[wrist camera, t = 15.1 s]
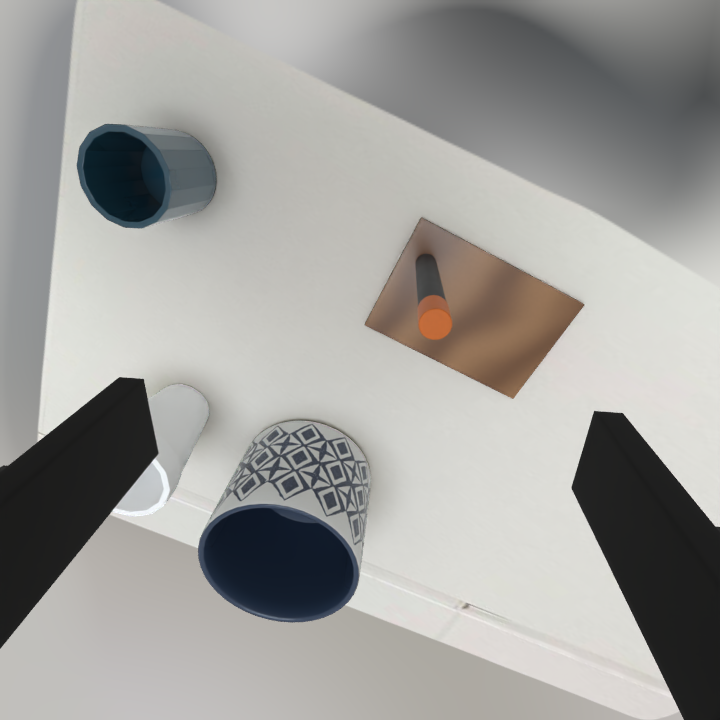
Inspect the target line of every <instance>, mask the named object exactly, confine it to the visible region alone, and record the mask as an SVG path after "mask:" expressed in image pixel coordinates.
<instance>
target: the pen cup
mask: <svg viewBox="0 0 720 720" xmlns="http://www.w3.org/2000/svg"><path fill="white" fill-rule="evenodd" d="M77 170H78V174H79V179H80V184H81V186H82V189H83V191H84V193H85V194H86V196H87V198H88V200H89V201H90V203H91V205H92V206H93V207H94V208H95V209H96V210H97V211H98V212H99V213H101V214H102V215H103V216H104V217H105V218H106V219H107V220H109V221H111V222H114V223H116V224H118V225H120V226H122V227H125V228H145V227H149V226H152V225H156V224H160V223H163V222H167V221H170V220H174V219H177V218H181V217H185V216H188V215H190V214H193V213H196V212H198V211H200V210H202V209H203V208H205V207H206V206H207V205H208V203H209V202H210V201H211V199H212V197H213V195H214V192H215V188H216V172H215V167H214V164H213V161H212V159H211V157H210V155H209V153H208V152H207V150H206V149H205V147H204V146H203V145H202V144H201V143H200V142H199V141H198V140H197V139H195V138H194V137H192V136H191V135H189V134H187V133H184V132H181V131H178V130H172V129H163V128H153V127H143V126H133V125H122V124H105V125H103V126H101V127H99V128H97V129H95V130H93V131H91V132H89V134H88V135H87V137H86V138H85V140H84V141H83V143H82V144H81V146H80V148H79V154H78V161H77Z"/></svg>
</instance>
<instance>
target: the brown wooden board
mask: <svg viewBox="0 0 720 720" xmlns="http://www.w3.org/2000/svg"><path fill="white" fill-rule="evenodd" d="M422 254H430V255H432V256H433V257H434V258H435V259H436V263H437V267H438V271H439V274H440V278H441V282H442V286H443V290H444V294H445V298H446V302H447V304H448V307H449V311H450V315H451V318H452V328H451V331H450V332H449V334H448V335H447V336H445V337H444V338H442V339H438V340H431V339H428V338H426V337H424V336H423V335H422V334H421V332H420V330H419V327H418V298H417V281H416V260H417V258H418V257H419V256H420V255H422ZM583 306H584V304H583V303H581V302H579V301H578V300H576V299H574V298H572V297H570V296H568V295H566V294H564V293H563V292H561V291H559V290H557V289H555V288H553V287H551V286H549V285H548V284H546V283H544V282H542V281H540V280H538V279H536V278H534V277H533V276H531V275H529V274H527V273H525V272H523V271H521V270H519V269H518V268H516V267H514V266H512V265H510V264H508V263H506V262H504V261H502V260H501V259H499V258H497V257H495V256H493V255H491V254H489V253H487V252H486V251H484V250H482V249H480V248H478V247H476V246H474V245H472V244H471V243H469V242H467V241H465V240H463V239H461V238H459V237H457V236H456V235H454V234H452V233H450V232H448V231H446V230H444V229H442V228H441V227H439V226H437V225H435V224H433V223H431V222H429V221H427V220H426V219H424V218H421V219H420V221H419V223H418V225H417V227H416V228H415V230H414V232H413V234H412V236H411V238H410V240H409V242H408V243H407V245H406V247H405V249H404V251H403V253H402V255H401V257H400V259H399V260H398V262H397V264H396V266H395V268H394V270H393V272H392V274H391V275H390V277H389V279H388V281H387V283H386V285H385V287H384V289H383V291H382V292H381V294H380V296H379V298H378V300H377V302H376V304H375V306H374V308H373V309H372V311H371V313H370V315H369V317H368V319H367V321H366V323H365V325H366V326H368V327H370V328H372V329H374V330H376V331H378V332H380V333H382V334H384V335H386V336H388V337H390V338H392V339H394V340H396V341H398V342H400V343H402V344H404V345H406V346H408V347H410V348H412V349H414V350H416V351H418V352H420V353H422V354H424V355H426V356H428V357H430V358H432V359H434V360H436V361H438V362H440V363H442V364H444V365H446V366H448V367H450V368H452V369H454V370H456V371H458V372H460V373H462V374H464V375H466V376H468V377H470V378H472V379H474V380H476V381H478V382H480V383H482V384H484V385H486V386H488V387H490V388H492V389H494V390H496V391H498V392H500V393H502V394H504V395H506V396H508V397H510V398H512V399H513V398H514V397H515V396H516V394H517V393H518V392H519V390H520V389H521V388H522V386H523V385H524V384H525V382H526V381H527V380H528V378H529V377H530V376H531V375H532V373H533V372H534V371H535V369H536V368H537V367H538V365H539V364H540V363H541V361H542V360H543V359H544V357H545V356H546V355H547V353H548V352H549V351H550V350H551V348H552V347H553V346H554V344H555V343H556V342H557V340H558V339H559V338H560V336H561V335H562V334H563V332H564V331H565V330H566V328H567V327H568V326H569V325H570V323H571V322H572V321H573V319H574V318H575V317H576V315H577V314H578V313H579V311H580V310H581V309H582V307H583Z"/></svg>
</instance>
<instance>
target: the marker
mask: <svg viewBox="0 0 720 720" xmlns="http://www.w3.org/2000/svg"><path fill="white" fill-rule="evenodd" d="M416 281H417V298H418V327H419V330H420V332H421V334H422V335H423V336H424V337H426V338H428V339H431V340H438V339H442V338H444V337H445V336H447V335H448V334H449V332H450V331H451V328H452V318H451V315H450V311H449V307H448V304H447V302H446V298H445V294H444V290H443V286H442V282H441V278H440V274H439V271H438V267H437V263H436V259H435V258H434V257H433V256H432V255H430V254H422V255H420V256H419V257H418V258H417V260H416Z"/></svg>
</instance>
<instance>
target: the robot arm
mask: <svg viewBox="0 0 720 720" xmlns="http://www.w3.org/2000/svg"><path fill="white" fill-rule="evenodd" d="M158 454H159V452H158V447H157V442H156V437H155V432H154V427H153V423H152V418H151V413H150V408H149V403H148V398H147V393H146V388H145V383H144V379H136V378H122V377H119V378H118V379H117V380H115V381H114V382H113V383H112V384H110V385H109V386H108V387H106V388H105V389H104V390H103V391H101V392H100V393H99V394H98V395H96V396H95V397H94V398H93V399H91V400H90V401H89V402H88V403H86V404H85V405H84V406H83V407H81V408H80V409H79V410H78V411H76V412H75V413H74V414H73V415H71V416H70V417H69V418H68V419H66V420H65V421H64V422H63V423H61V424H60V425H59V426H58V427H56V428H55V429H54V430H53V431H51V432H50V433H49V434H48V435H46V436H45V437H44V438H42V439H41V440H40V441H39V442H37V443H36V444H35V445H34V446H32V447H31V448H30V449H29V450H27V451H26V452H25V453H24V454H23V455H21V456H20V457H19V458H17V459H16V460H15V461H14V462H12V463H11V464H10V465H9V466H2V467H0V648H1V647H2V646H3V645H4V643H5V642H6V641H7V640H8V639H9V637H10V636H11V635H12V634H13V632H14V631H15V630H16V629H17V627H18V626H19V625H20V624H21V623H22V621H23V620H24V619H25V618H26V616H27V615H28V614H29V613H30V611H31V610H32V609H33V608H34V607H35V605H36V604H37V603H38V602H39V600H40V599H41V598H42V597H43V595H44V594H45V593H46V592H47V591H48V589H49V588H50V587H51V585H52V584H53V583H54V582H55V581H56V579H57V578H58V577H59V576H60V575H61V573H62V572H63V571H64V570H65V568H66V567H67V566H68V565H69V563H70V562H71V561H72V560H73V558H74V557H75V556H76V555H77V553H78V552H79V551H80V550H81V549H82V547H83V546H84V545H85V544H86V542H87V541H88V540H89V539H90V537H91V536H92V535H93V534H94V533H95V531H96V530H97V529H98V528H99V526H100V525H101V524H102V523H103V521H104V520H105V519H106V518H107V517H108V515H109V514H110V513H111V512H112V510H113V509H114V508H115V507H116V506H117V504H118V503H119V502H120V501H121V499H122V498H123V497H124V496H125V494H126V493H127V492H128V491H129V490H130V488H131V487H132V486H133V485H134V483H135V482H136V481H137V480H138V478H139V477H140V476H141V475H142V474H143V472H144V471H145V470H146V469H147V467H148V466H149V465H150V464H151V462H152V461H153V460H154V459H155V458H156V456H157V455H158ZM572 490H573V492H574V494H575V496H576V498H577V500H578V503H579V505H580V507H581V509H582V511H583V513H584V515H585V517H586V519H587V521H588V523H589V525H590V527H591V529H592V531H593V533H594V535H595V538H596V540H597V542H598V544H599V546H600V548H601V550H602V552H603V554H604V556H605V558H606V560H607V562H608V564H609V566H610V568H611V570H612V573H613V575H614V577H615V579H616V581H617V583H618V585H619V587H620V589H621V591H622V593H623V595H624V597H625V599H626V601H627V603H628V605H629V608H630V610H631V612H632V614H633V616H634V618H635V620H636V622H637V624H638V626H639V628H640V630H641V632H642V634H643V636H644V638H645V640H646V643H647V645H648V647H649V649H650V651H651V653H652V655H653V657H654V659H655V661H656V663H657V665H658V667H659V669H660V671H661V673H662V675H663V678H664V680H665V682H666V684H667V686H668V688H669V690H670V692H671V694H672V696H673V698H674V700H675V702H676V704H677V706H678V708H679V710H680V713H681V715H682V717H683V719H684V720H720V527H715V526H714V524H713V523H712V522H711V521H710V520H709V518H708V517H707V516H706V515H705V513H704V512H703V511H702V510H701V509H700V507H699V506H698V505H697V504H696V502H695V501H694V500H693V499H692V497H691V496H690V495H689V494H688V493H687V491H686V490H685V489H684V488H683V486H682V485H681V484H680V483H679V482H678V480H677V479H676V478H675V477H674V475H673V474H672V473H671V472H670V471H669V469H668V468H667V467H666V466H665V464H664V463H663V462H662V461H661V460H660V458H659V457H658V456H657V455H656V453H655V452H654V451H653V450H652V449H651V447H650V446H649V445H648V444H647V442H646V441H645V440H644V439H643V437H642V436H641V435H640V434H639V433H638V431H637V430H636V429H635V428H634V426H633V425H632V424H631V423H630V422H629V420H628V419H627V418H626V417H625V415H624V414H623V413H613V412H599V411H594V414H593V417H592V420H591V424H590V427H589V430H588V434H587V437H586V441H585V444H584V447H583V451H582V454H581V457H580V461H579V464H578V468H577V471H576V474H575V478H574V481H573V484H572Z"/></svg>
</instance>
